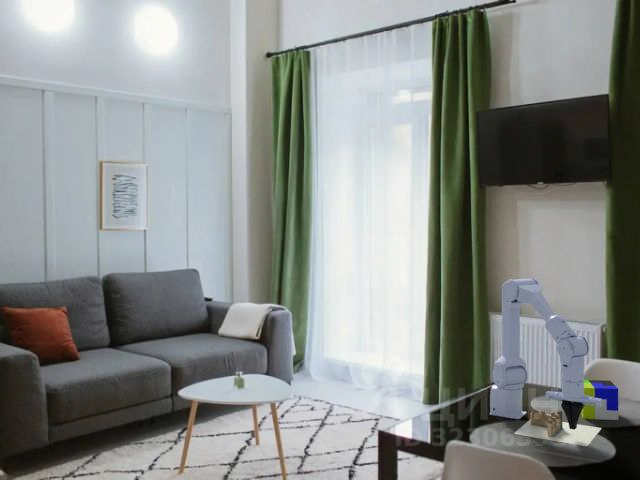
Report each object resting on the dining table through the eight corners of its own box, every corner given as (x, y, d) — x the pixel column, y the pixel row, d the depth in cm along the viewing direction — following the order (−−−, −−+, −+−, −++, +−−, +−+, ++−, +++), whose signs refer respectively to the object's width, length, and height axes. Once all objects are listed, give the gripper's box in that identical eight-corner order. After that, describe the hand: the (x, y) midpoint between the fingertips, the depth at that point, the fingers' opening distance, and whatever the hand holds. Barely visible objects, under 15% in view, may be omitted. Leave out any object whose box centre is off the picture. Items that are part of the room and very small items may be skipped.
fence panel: (556, 428, 190) (556, 413, 189) (560, 429, 189) (560, 414, 189) (547, 435, 184) (547, 420, 184) (551, 436, 183) (551, 420, 183)
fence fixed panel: (530, 424, 194) (530, 407, 194) (531, 423, 196) (531, 406, 195) (561, 429, 189) (561, 412, 189) (563, 428, 190) (562, 410, 190)
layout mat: (513, 435, 187) (513, 433, 187) (532, 418, 202) (532, 417, 202) (587, 447, 175) (587, 446, 175) (601, 429, 190) (601, 427, 190)
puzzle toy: (618, 421, 197) (618, 388, 197) (583, 420, 199) (583, 387, 199) (610, 411, 207) (610, 380, 207) (577, 410, 209) (577, 379, 209)
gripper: (604, 380, 180) (604, 429, 180) (551, 373, 188) (551, 419, 189) (597, 386, 174) (597, 436, 174) (543, 378, 183) (543, 426, 183)
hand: (573, 428), depth 181 cm, fingers closed
